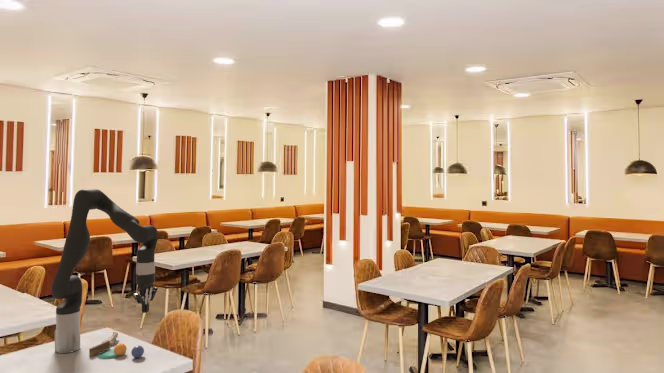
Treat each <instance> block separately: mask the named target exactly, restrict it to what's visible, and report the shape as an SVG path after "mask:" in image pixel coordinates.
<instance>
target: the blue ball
mask: <svg viewBox="0 0 664 373" xmlns="http://www.w3.org/2000/svg"><path fill="white" fill-rule="evenodd" d="M130 354H131V356H132V357H133V358H135V359H139V358H141V357H142V356H143V355H144V354H145V349H144V347H143V345H142V346H141V345H135V346H134V347H132V349H131V351H130Z"/></svg>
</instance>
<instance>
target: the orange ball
mask: <svg viewBox="0 0 664 373" xmlns="http://www.w3.org/2000/svg"><path fill="white" fill-rule="evenodd" d="M113 349H114V353H115V354H116V355H118V356H119V357H121V356H120V355H122V356H124V355H125V354H126V352H127V350H128V349H127V345H126V344H125V343H121V342H120V343H118V344H116V345H115V346H114V348H113ZM124 353H125V354H124Z"/></svg>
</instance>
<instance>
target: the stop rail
mask: <svg viewBox="0 0 664 373" xmlns="http://www.w3.org/2000/svg"><path fill="white" fill-rule="evenodd" d="M102 342H103V341H102ZM102 342H101V343H99V344H96V345H94V346H92V347H90V348H89V355H88V356H89V357H90V358H92V357H95V356H96V355H97V356H98V354H100V353H101V352H104V351H107V350H111V347H110V341H106V342H103V343H102Z"/></svg>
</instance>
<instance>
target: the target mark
mask: <svg viewBox="0 0 664 373" xmlns="http://www.w3.org/2000/svg"><path fill="white" fill-rule="evenodd" d="M125 354H126V352H125V353H124V354H123V355H125ZM123 355H120V356H118V355H116V354H115V353H114V348H113V349H111V348H110V349H108V350H105V351H103V352H101V353H99V354H97V358H98V359H99V360H110V359H116V358H119V357H121V356H123Z"/></svg>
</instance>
